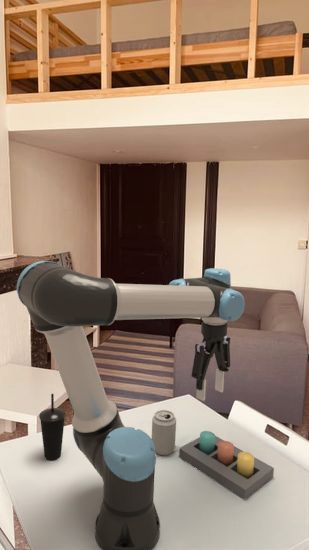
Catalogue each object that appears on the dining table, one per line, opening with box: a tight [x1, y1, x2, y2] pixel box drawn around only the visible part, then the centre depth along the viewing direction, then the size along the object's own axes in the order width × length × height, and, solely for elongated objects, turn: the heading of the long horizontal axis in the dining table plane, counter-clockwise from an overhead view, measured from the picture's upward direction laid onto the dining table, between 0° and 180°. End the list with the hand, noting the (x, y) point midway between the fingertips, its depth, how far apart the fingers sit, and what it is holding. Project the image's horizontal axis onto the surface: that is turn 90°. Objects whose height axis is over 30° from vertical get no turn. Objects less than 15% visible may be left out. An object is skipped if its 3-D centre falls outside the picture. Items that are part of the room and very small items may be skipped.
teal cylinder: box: [199, 430, 216, 454], centre depth 124 cm, size 5×5×5 cm
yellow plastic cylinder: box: [237, 451, 255, 478], centre depth 114 cm, size 5×5×5 cm
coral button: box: [217, 440, 235, 466], centre depth 119 cm, size 5×5×5 cm
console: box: [178, 435, 275, 501], centre depth 119 cm, size 14×24×3 cm, turn 43°
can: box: [151, 409, 177, 456], centre depth 126 cm, size 8×8×12 cm
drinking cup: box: [38, 393, 67, 462], centre depth 120 cm, size 8×8×20 cm
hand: (210, 394), depth 121 cm, fingers open, 8 cm apart
